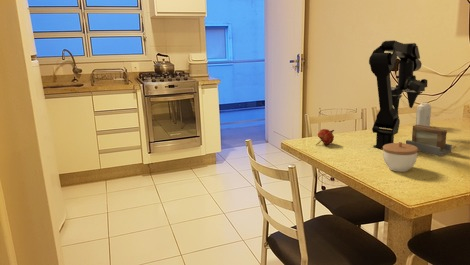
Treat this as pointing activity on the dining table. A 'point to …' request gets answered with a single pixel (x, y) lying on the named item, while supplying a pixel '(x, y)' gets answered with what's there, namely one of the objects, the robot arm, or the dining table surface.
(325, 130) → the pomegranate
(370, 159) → the dining table surface
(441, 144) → the brown flat block
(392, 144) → the lidded jar
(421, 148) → the display ledge
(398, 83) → the robot arm
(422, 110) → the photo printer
